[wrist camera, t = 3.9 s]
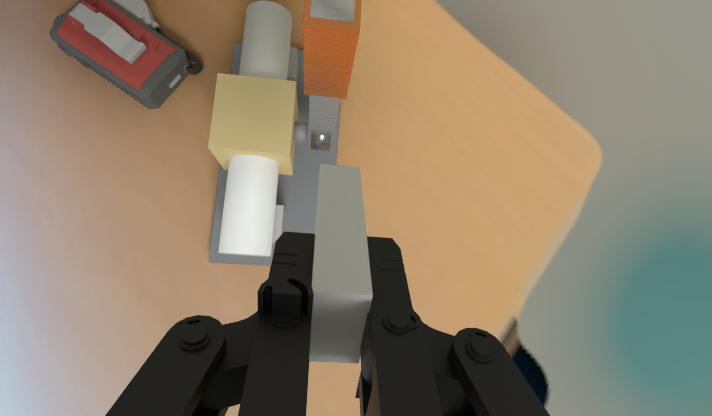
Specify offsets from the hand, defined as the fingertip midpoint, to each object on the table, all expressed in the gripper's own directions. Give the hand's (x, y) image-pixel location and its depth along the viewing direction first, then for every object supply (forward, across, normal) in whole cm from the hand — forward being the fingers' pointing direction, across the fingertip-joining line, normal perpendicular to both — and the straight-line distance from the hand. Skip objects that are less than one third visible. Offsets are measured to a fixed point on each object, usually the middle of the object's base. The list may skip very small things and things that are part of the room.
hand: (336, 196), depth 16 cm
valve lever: (+20, -1, -7) cm, 21 cm away
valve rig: (+24, -4, -11) cm, 26 cm away
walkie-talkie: (+32, -23, -3) cm, 39 cm away
